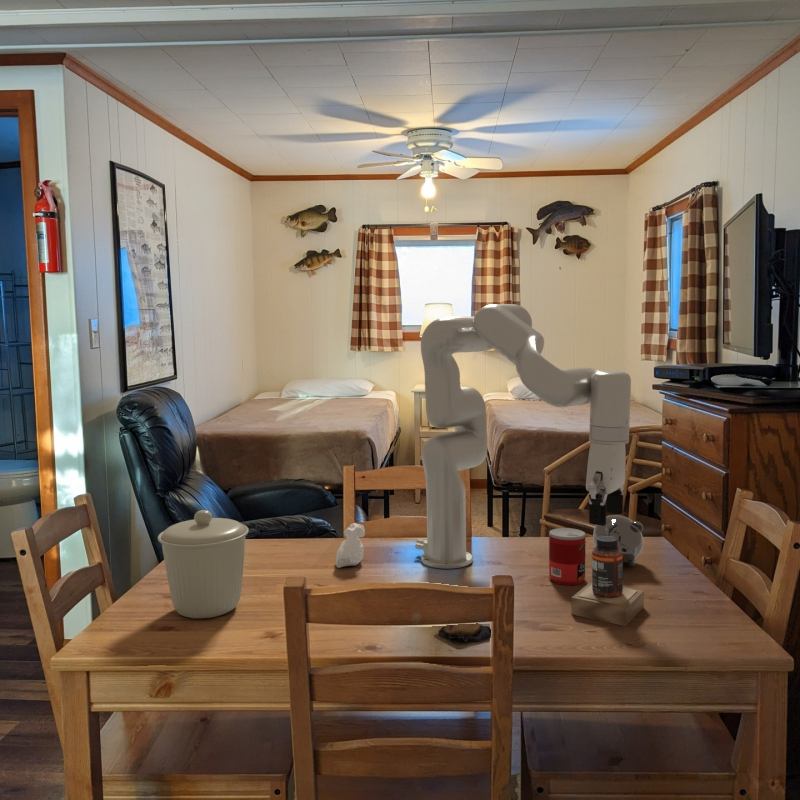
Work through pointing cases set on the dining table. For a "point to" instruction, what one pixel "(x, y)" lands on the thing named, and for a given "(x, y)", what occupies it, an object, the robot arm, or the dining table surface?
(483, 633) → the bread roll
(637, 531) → the piggy bank
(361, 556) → the bust
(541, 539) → the dining table surface
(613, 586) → the supplement bottle
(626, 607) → the base
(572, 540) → the canned food
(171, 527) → the canister
